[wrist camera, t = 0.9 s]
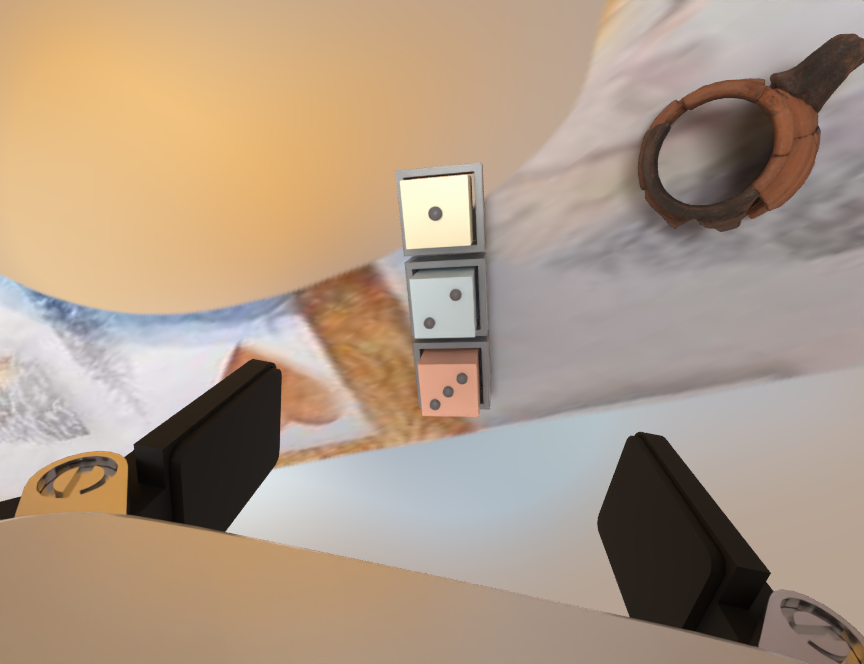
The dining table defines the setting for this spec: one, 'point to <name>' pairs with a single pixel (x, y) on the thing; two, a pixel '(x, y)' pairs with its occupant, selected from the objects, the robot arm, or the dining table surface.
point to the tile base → (461, 342)
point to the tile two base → (453, 261)
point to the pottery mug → (793, 134)
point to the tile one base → (479, 202)
